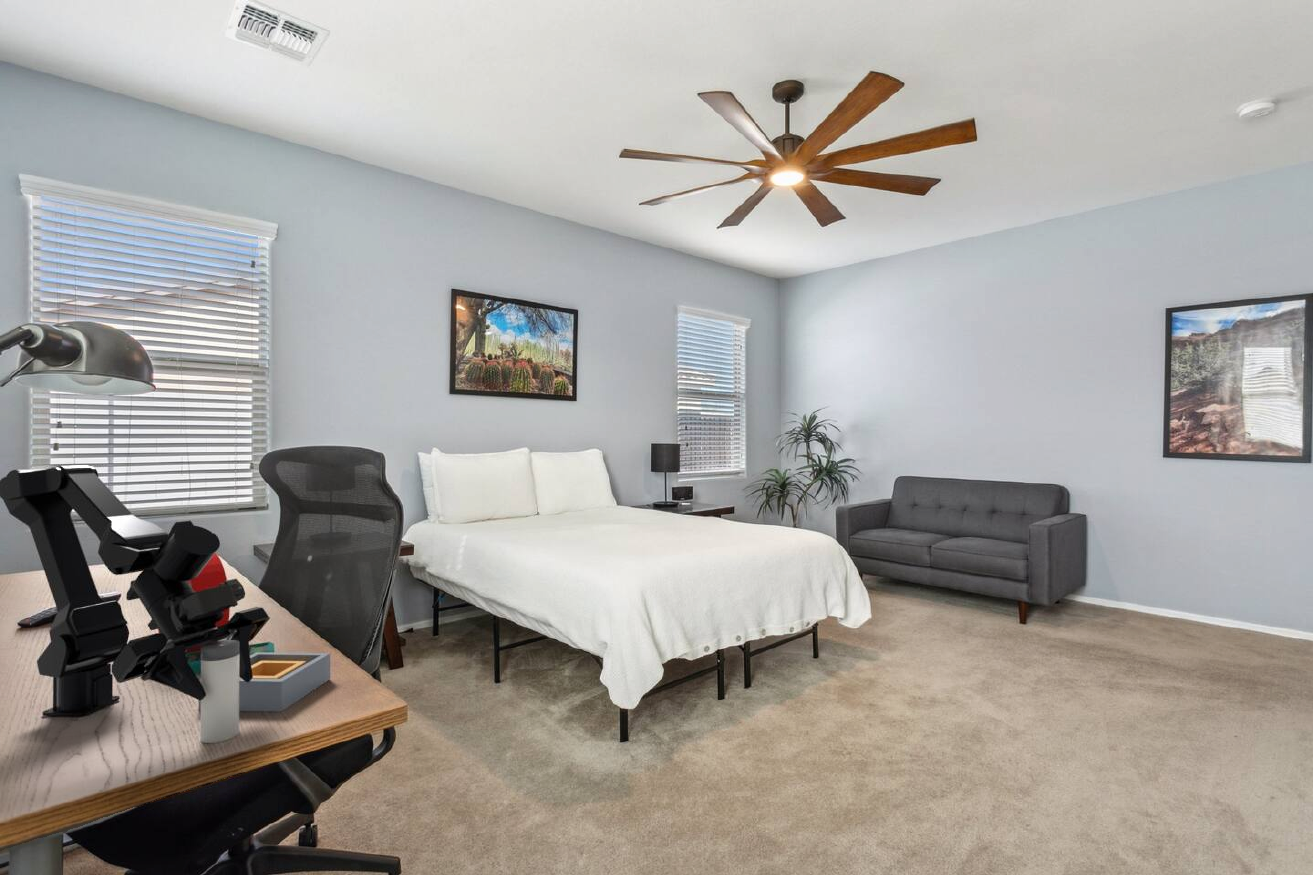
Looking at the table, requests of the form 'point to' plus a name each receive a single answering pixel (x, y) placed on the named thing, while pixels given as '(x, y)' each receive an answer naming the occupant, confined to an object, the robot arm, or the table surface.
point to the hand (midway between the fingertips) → (227, 688)
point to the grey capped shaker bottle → (220, 691)
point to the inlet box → (281, 679)
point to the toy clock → (210, 586)
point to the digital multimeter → (195, 657)
